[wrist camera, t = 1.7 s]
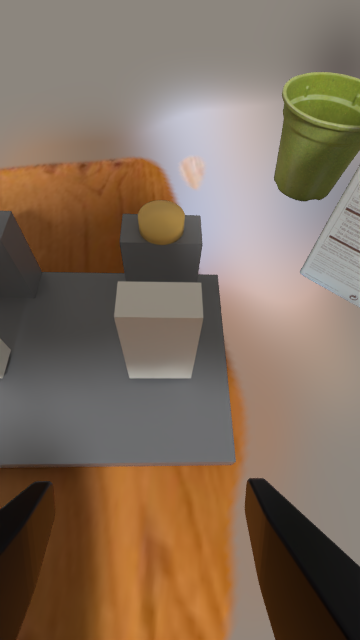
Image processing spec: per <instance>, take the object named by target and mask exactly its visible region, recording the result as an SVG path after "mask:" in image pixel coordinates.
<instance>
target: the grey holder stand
mask: <svg viewBox="0 0 360 640" xmlns="http://www.w3.org/2000/svg"><path fill="white" fill-rule="evenodd" d="M120 248H121V254H122V260H123V266H124V272H125V273H70V272H42V271H41V269H40V267H39V265H38V263H37V261H36V259H35V257H34V255H33V253H32V251H31V249H30V247H29V245H28V243H27V241H26V239H25V237H24V235H23V233H22V231H21V229H20V227H19V226H18V224H17V222H16V220H15V218H14V216H13V214H12V212H11V211H0V339H1V340H2V341H3V342H4V343H5V344H6V345H7V346H8V347H9V348H10V349H11V351H10V355H9V359H8V362H7V366H6V369H5V373H4V376H3V378H0V468H24V467H105V466H187V465H232V464H233V463H235V462H236V459H235V449H234V439H233V428H232V418H231V408H230V398H229V387H228V377H227V367H226V357H225V346H224V336H223V326H222V316H221V305H220V295H219V285H218V275H198V270H199V263H200V257H201V250H202V233H201V219H200V216H194V215H185V214H184V212H183V210H182V208H181V207H180V206H178V205H177V204H175V203H173V202H170V201H165V200H157V201H152V202H149V203H147V204H145V205H144V206H143V207H142V208H141V209H140V210H139V213H138V214H123V216H122V225H121V235H120ZM118 281H126V282H195V283H201V287H202V303H203V323H202V328H201V332H200V337H199V342H198V347H197V352H196V356H195V361H194V366H193V371H192V376H191V378H129V375H128V371H127V367H126V363H125V359H124V355H123V351H122V347H121V343H120V339H119V335H118V331H117V327H116V323H115V319H114V312H115V302H116V293H117V283H118Z"/></svg>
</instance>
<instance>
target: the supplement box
mask: <svg viewBox="0 0 360 640" xmlns="http://www.w3.org/2000/svg"><path fill="white" fill-rule="evenodd" d="M300 273H301V274H302V275H303V276H305V277H307V278H308V279H310V280H312V281H313V282H315V283H317V284H319V285H321V286H322V287H324V288H326V289H328V290H330V291H332V292H333V293H335V294H337V295H338V296H340V297H342V298H344V299H345V300H347V301H349V302H351V303H353V304H354V305H356V306H358V307H360V165H359V167H358V169H357V170H356V172H355V174H354V176H353V178H352V179H351V181H350V183H349V185H348V186H347V188H346V190H345V192H344V193H343V195H342V197H341V199H340V200H339V202H338V204H337V206H336V207H335V209H334V211H333V213H332V215H331V216H330V218H329V220H328V222H327V223H326V225H325V227H324V229H323V231H322V233H321V234H320V236H319V238H318V240H317V242H316V243H315V245H314V247H313V249H312V251H311V253H310V254H309V256H308V258H307V260H306V262H305V264H304V265H303V267H302V269H301V271H300Z"/></svg>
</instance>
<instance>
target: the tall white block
mask: <svg viewBox="0 0 360 640" xmlns="http://www.w3.org/2000/svg"><path fill="white" fill-rule="evenodd" d="M114 319H115V323H116V327H117V331H118V335H119V339H120V343H121V347H122V351H123V355H124V359H125V363H126V367H127V371H128V375H129V378H191V376H192V371H193V366H194V361H195V356H196V352H197V347H198V342H199V337H200V332H201V328H202V323H203V303H202V287H201V283H195V282H126V281H118V283H117V293H116V302H115V312H114Z"/></svg>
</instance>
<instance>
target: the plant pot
mask: <svg viewBox="0 0 360 640" xmlns="http://www.w3.org/2000/svg"><path fill="white" fill-rule="evenodd" d="M282 97H283V101H284V109H283V115H284V122H283V128H282V135H281V141H280V147H279V152H278V158H277V164H276V170H275V176H274V180H275V182H276V184H277V186H278V189H279V190H280V191H281V192H282V193H283V194H285V195H286V196H288V197H290V198H293V199H295V200H299V201H308V200H312V199H317V200H320V199H323V198H324V197H326V196H327V195H328V194H329V192H330V191H331V189H332V188H333V187H334V185H335V184H336V182H337V181H338V180H339V178H340V177H341V175H342V173H343V172H344V171H345V169H346V168H347V167H348V165H349V164H350V163H351V161H352V160H353V159H354V157H355V156H356V154H357V153H358V151H359V150H360V79H358V78H354V77H351V76H347V75H342V74H336V73H329V72H312V73H306V74H302V75H298V76H296V77H293V78H292V79H290V80H289V81H288V82H287V83H286V84H285V85H284V88H283V92H282Z"/></svg>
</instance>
